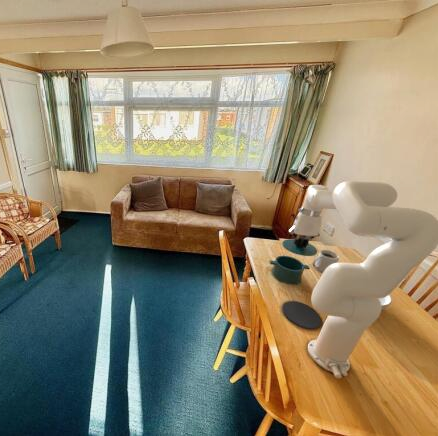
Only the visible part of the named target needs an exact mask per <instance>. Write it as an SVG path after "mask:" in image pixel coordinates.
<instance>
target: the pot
mask: <svg viewBox="0 0 438 436" xmlns="http://www.w3.org/2000/svg"><path fill="white" fill-rule="evenodd" d="M269 264H270V265H273V267H272V270H271V274H272V276H273V277H274V278H275V279H277V280H278V281H280V282H282V283H285V284H288V285H289V284H290V285H296V284H298V283H300V281H301V280H302V277H303V273H304V272H305V271H304V270H310V269H311V267H310V266H309V265H308V264H304V263H303V262H302V261H301V260H300V259H297V258H295V257H293V256H290V255H278V256H276V257H275V259H274V260H271V259H270V260H269Z"/></svg>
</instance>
